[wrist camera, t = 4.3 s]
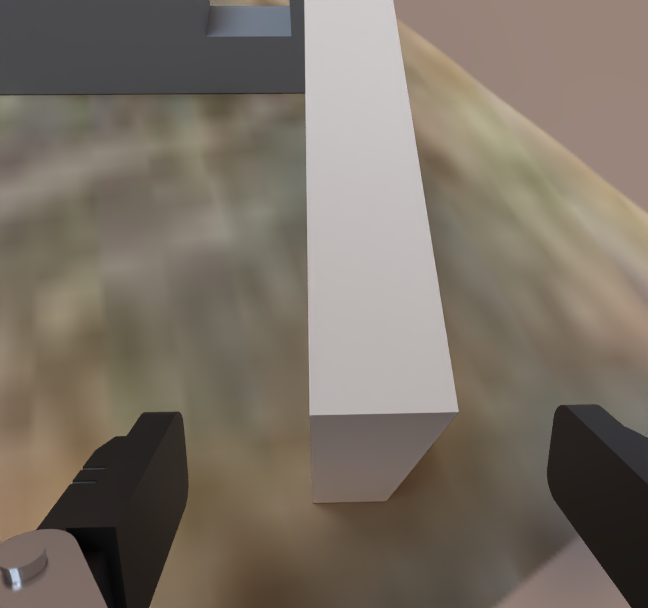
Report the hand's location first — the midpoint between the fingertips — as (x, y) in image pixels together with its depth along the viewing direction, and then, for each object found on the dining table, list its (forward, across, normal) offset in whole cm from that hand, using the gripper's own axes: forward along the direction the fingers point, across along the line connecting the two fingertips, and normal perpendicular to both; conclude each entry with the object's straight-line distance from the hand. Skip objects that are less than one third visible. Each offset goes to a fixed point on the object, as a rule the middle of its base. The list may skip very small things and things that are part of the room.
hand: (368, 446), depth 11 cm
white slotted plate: (+11, 0, 0) cm, 11 cm away
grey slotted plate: (+21, +9, -10) cm, 25 cm away
